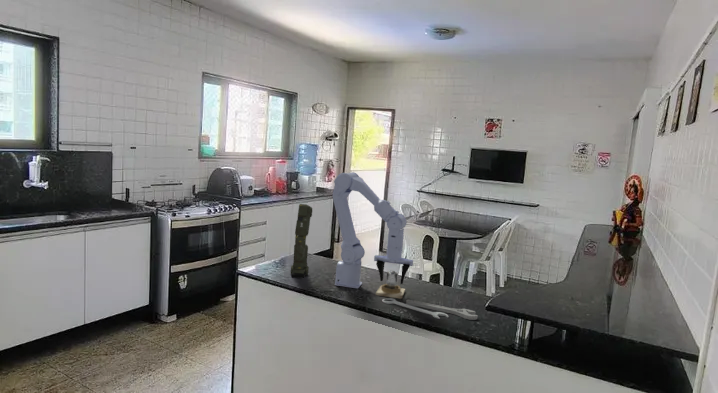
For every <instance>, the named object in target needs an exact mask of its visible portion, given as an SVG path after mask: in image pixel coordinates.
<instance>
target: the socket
mask: <svg viewBox="0 0 718 393" xmlns="http://www.w3.org/2000/svg"><path fill="white" fill-rule="evenodd" d="M405 292H406V288H401V286H400V285H398V284H397V289H388V288H386V283H385V284H384V283H383V284H382V285H379V288H377V290H376V292H375V296H380V297H385V298H392V299H400V300H401V299H403V297H404V294H405Z"/></svg>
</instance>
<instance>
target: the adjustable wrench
mask: <svg viewBox="0 0 718 393" xmlns="http://www.w3.org/2000/svg"><path fill="white" fill-rule="evenodd" d="M405 304H408V305H411V306H414V307H417V308H422V309H426V310H433V311H436V312H442V313H445V314H447V313H448V314H452V315H455V316H458V317H460V318H463V319H465V320H470V321H472V320H473V321H475V320H478V316H479V315H477V314H476V311H475V310H472V309H467V308H453V307H448V306H442V305H438V304H433V303H428V302H423V301H418V300H414V299H413V300H412V299H406V300H405Z"/></svg>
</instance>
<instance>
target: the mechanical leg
mask: <svg viewBox="0 0 718 393" xmlns="http://www.w3.org/2000/svg"><path fill="white" fill-rule="evenodd" d="M312 216H313V207H312V206H310V205H309V204H306V203H299V205H298V212H297V219H296V224H295V230H294V231H295V233H294V235H295V237H294V241H295V242H294V245H293V248H294V249H293V262H292V265H291V266H290V275H291V278H293V279H294V278H297V279H305V278H306V277H307V276H309V266H308V253H309V246H308V245H307V244H306V241H307V237H308V235H309V231H310V224H311V218H312Z"/></svg>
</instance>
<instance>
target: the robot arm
mask: <svg viewBox="0 0 718 393" xmlns="http://www.w3.org/2000/svg"><path fill="white" fill-rule="evenodd" d="M333 183H334V185H333V191H332V199H333V205H334V209H335V212H336V216H337V220H338V221H337V222H338V226H339V229H340V232H341V238H342V241H341V245H340V248H341V253H340V258H341V260H339V261H337V264H336V268H335V281H334V286H338V287H339V286H340V287H346V288H351V289H352V288H353V289H359V288H360V286H361V285H362V284H363V282H362V281H361V274H362V271H361V270H362V259H363V258H364V256H365V248H364V247H363V245H362V244H361V240H360V239H359V238H358V237H357V235H356V230H355V225H354V222H353V217H352V213H351V209H350V205H349V202H348V197H349V195H351V193H352V192H353V191H354V192H358V193H360V194H361V196H363V197H364V198H366V200H367V201H369V203H371V204H372V205H373V209H374V210H373V211H374V212H375V213H376V214H378V216H379V217H380V218H381V219H382V220H383V221H384V222H385V223H386V226H387V229H388V235H387V244H386V245H387V246H386V254H385V255H377V254H375V255H374V257H373V262H376V267H377V270H378V273H379V280H380V282H382V281H384V271H385V270H384V269H385V263H390V264H397V265H402V266H401V277H400V278H401V279H400V285H403V284H404V280H405V276H406V274H407V272H408V270H409V268H410V267H413V266H414V260H413V259H409V258H404V257H403V245H404V233H405V227H406V226H407V219H406V216H405V215H404V214H402V213H399V211H398V210H396V209H395V208H394V207H393V206H392V205H391V202H390V201H389V200H386V199H381V198H379V196H378V195H377V194H376V192H374V191H373V189H371V187H370V186H369V185H368V184H367V183H366V182H365V181H364V179H363V178H362V177H361V176H359V174H358V173H356V172H340V173H339V174H338V175H337V176H336V177H335V179H334V180H333Z"/></svg>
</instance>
